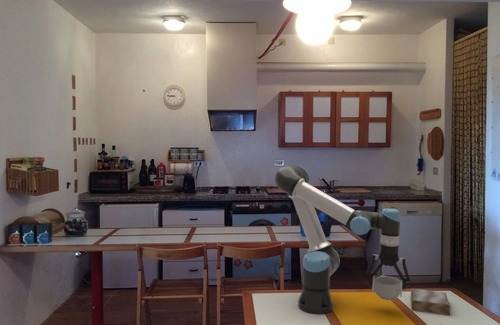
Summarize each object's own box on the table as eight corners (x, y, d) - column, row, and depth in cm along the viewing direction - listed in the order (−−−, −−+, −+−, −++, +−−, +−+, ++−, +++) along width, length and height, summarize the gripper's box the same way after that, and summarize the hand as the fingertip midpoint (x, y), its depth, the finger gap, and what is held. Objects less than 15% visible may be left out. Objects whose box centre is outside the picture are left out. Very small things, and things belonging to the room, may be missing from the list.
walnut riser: (411, 309, 180) (412, 300, 180) (410, 296, 196) (410, 287, 196) (449, 315, 175) (450, 305, 175) (445, 301, 191) (445, 292, 191)
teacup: (401, 303, 173) (402, 285, 172) (374, 300, 175) (375, 282, 174) (396, 292, 186) (397, 274, 186) (371, 289, 188) (372, 272, 188)
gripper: (361, 243, 180) (358, 292, 181) (418, 249, 172) (415, 301, 173) (362, 239, 187) (360, 287, 188) (417, 245, 179) (414, 295, 180)
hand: (386, 293), depth 180 cm, fingers closed on teacup, 11 cm apart
